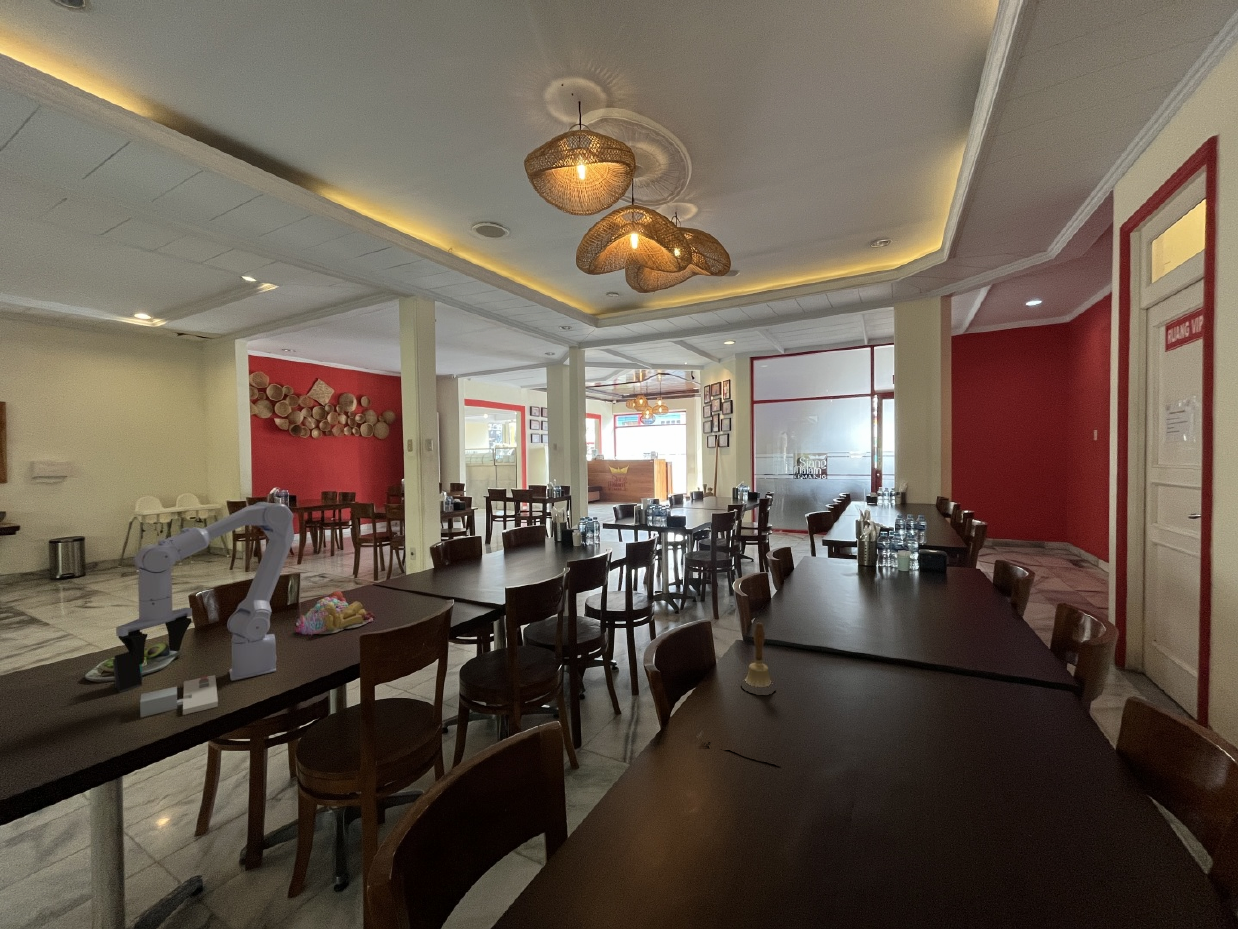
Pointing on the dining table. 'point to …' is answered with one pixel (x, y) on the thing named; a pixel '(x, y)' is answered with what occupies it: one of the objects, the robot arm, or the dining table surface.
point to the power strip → (200, 694)
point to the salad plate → (153, 661)
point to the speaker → (126, 672)
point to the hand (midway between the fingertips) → (157, 656)
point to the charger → (159, 701)
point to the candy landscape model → (333, 616)
